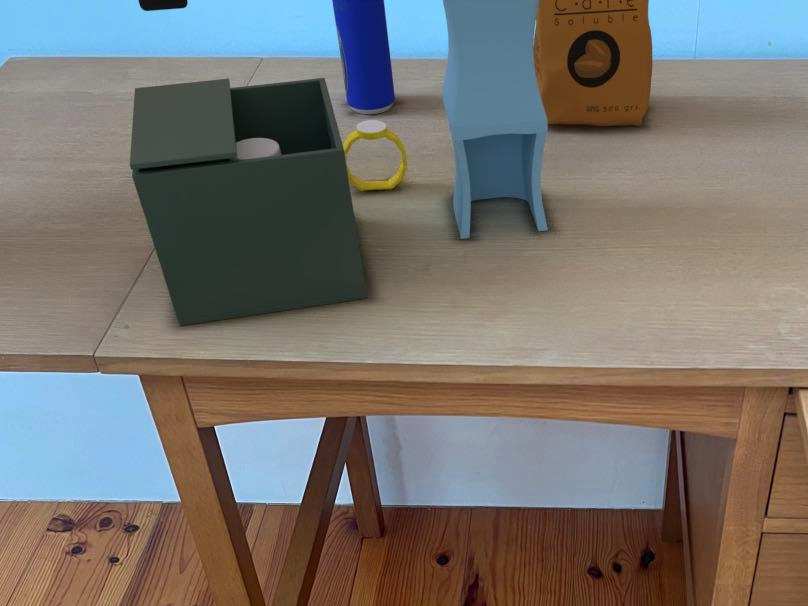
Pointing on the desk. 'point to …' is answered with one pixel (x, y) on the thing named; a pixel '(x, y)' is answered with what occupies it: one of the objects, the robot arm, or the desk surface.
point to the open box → (259, 213)
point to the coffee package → (593, 61)
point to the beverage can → (365, 54)
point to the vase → (494, 104)
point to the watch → (372, 132)
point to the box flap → (182, 124)
